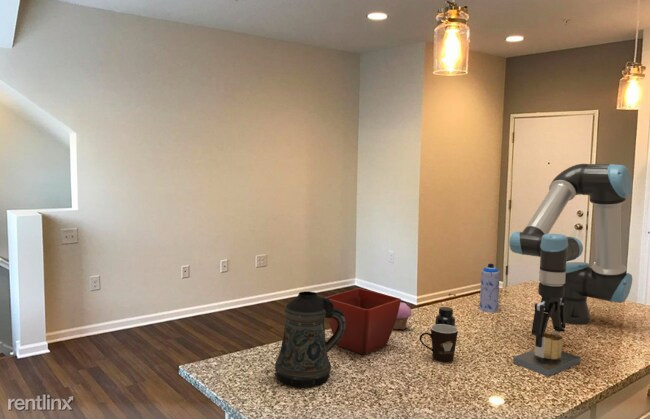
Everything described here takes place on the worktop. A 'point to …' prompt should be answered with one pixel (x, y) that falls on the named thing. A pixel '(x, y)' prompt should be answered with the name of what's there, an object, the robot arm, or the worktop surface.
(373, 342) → the plant pot
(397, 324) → the cupcake
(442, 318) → the supplement bottle
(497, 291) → the aerosol can
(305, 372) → the beer stein
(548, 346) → the ring
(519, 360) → the shaft stand
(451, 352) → the coffee mug
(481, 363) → the worktop surface
